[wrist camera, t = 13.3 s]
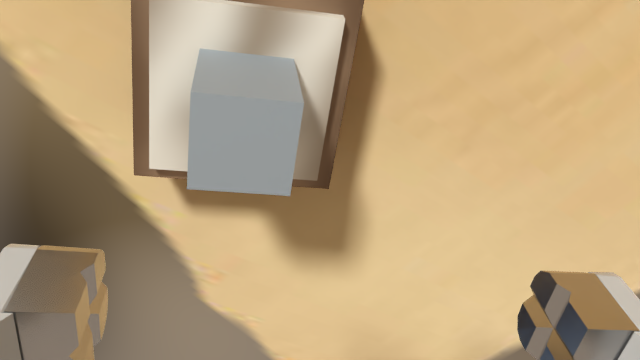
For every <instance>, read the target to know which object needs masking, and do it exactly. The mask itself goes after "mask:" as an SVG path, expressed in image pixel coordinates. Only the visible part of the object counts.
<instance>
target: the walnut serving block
mask: <svg viewBox="0 0 640 360" xmlns="http://www.w3.org/2000/svg"><path fill="white" fill-rule="evenodd" d="M363 4H364V0H131V27H132V87H133V147H134V175H139V176H153V177H167V178H182V179H187V171H188V145H189V120H190V94H191V88H192V83H193V78H194V73H195V69H196V64H197V59H198V54H199V50H200V48H201V49H210V50H219V51H228V52H237V53H246V54H255V55H264V56H273V57H282V58H291V59H294V62H295V66H296V70H297V75H298V79H299V83H300V87H301V92H302V96H303V100H304V107H303V113H302V120H301V127H300V133H299V140H298V147H297V154H296V160H295V167H294V174H293V180H292V186H297V187H311V188H325V189H329V185H330V179H331V174H332V169H333V163H334V158H335V153H336V147H337V142H338V137H339V131H340V126H341V121H342V116H343V110H344V105H345V100H346V94H347V89H348V84H349V78H350V73H351V68H352V63H353V57H354V52H355V47H356V41H357V36H358V31H359V25H360V20H361V15H362V9H363Z"/></svg>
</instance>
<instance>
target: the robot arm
mask: <svg viewBox="0 0 640 360" xmlns="http://www.w3.org/2000/svg"><path fill="white" fill-rule="evenodd" d="M105 269H106V265H105V255H104V252H103V251H102V250H101V249H87V248H72V247H57V246H38V245H22V244H9V245H8V246H6V247H5V248H4V249H3V250H2V251H1V253H0V360H94V350H93V347H94V346H95V345H96V344H97V343H99V342H100V341H101V339H102V335H103V332H104V328H105V322H106V316H107V308H108V293H107V292H108V291H107V287H106V286H105V285H104V284H103V283H102V282H101V281H102V278H103V275H104V272H105ZM530 287H531V289H532V292H533V294H534V295H533V296H532V297H530V298H529V299H528V300H526V301H525V302H524V303H523V304H522V306H521V309H520V312H519V314H518V329H517V330H518V334H519V338H520V341H521V343H522V345H523V347H524V349H525V351H526V352H528V353H529V354H530V355H532V356H533V357H534V358H535V359H537V360H640V300H639V299H638V297H637V296H636V295H635V294H634V293H633V291H632V290H631V289H630V288H629V287H628V285H627V284H626V283H625V282H624V281H623V279H622V278H621V277H620V276H618V275H616V274H614V273H608V272H588V273H584V272H560V271H540V272H539V273H538V274H537V275H536V276H535V277H534V279H533V281H532V283H531V286H530Z"/></svg>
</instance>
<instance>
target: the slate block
mask: <svg viewBox="0 0 640 360" xmlns="http://www.w3.org/2000/svg"><path fill="white" fill-rule="evenodd" d="M303 107H304V100H303V96H302V92H301V87H300V83H299V79H298V75H297V70H296V66H295V62H294V59H291V58H282V57H273V56H264V55H255V54H246V53H237V52H228V51H219V50H210V49H201V48H200V50H199V54H198V59H197V64H196V69H195V73H194V78H193V83H192V88H191V94H190V120H189V145H188V171H187V189H192V190H207V191H222V192H237V193H252V194H267V195H282V196H290V194H291V187H292V180H293V174H294V167H295V160H296V154H297V147H298V140H299V133H300V127H301V120H302V113H303Z"/></svg>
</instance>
